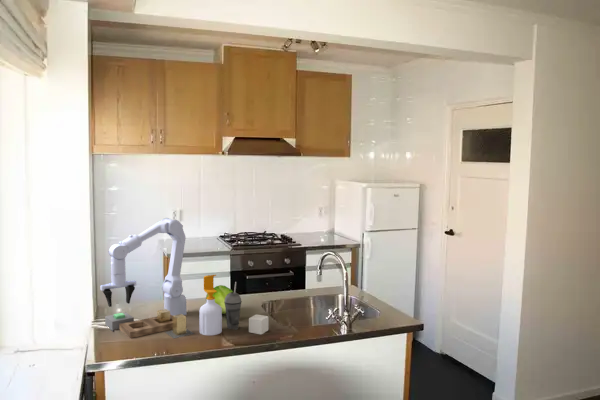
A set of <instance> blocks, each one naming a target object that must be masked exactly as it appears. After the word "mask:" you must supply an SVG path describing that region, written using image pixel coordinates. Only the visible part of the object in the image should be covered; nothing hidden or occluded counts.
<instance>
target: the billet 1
mask: <svg viewBox="0 0 600 400" xmlns="http://www.w3.org/2000/svg"><path fill="white" fill-rule="evenodd" d="M156 317H157V322H158V323H159V324H160V323H165V322H170V311H169V310H167V309H164V308H163V309H158V310H156Z"/></svg>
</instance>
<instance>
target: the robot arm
mask: <svg viewBox="0 0 600 400" xmlns="http://www.w3.org/2000/svg"><path fill="white" fill-rule="evenodd" d="M158 234H167V235H168V236H169V237H170V238H171V239H172V244H171V250H170V259H169V264H168V271H167V275H166V276H165V277H164V281H163V282H162V284H161V290H162V292H163V293H164V294H163V304H164V305H163V306H164V307H163V309H167V310H169V311H170V314H171V315H173V316H174V315H179V314H183V315H184V316H187V297H186V296H185V294H183V292H184V286H183V281H182V277H181V272H182V265H183V258H184V257H183V256H184V251H185V245H186V239H187V237H186V233H185V231H184V225H183V223H181V222H180V221H179V220H177V219H172V218H169V217H165V218H163V219H161V220H159V221H157V222H155V223H154V224H153V225H151V226H150V227H148V228H147V229H145V230H143V231H142V232H140V233H139V234H135V233H134V234H129V235H128V237H127V238H125V239H124V240H122V241H121V240H120V241H119V242H118V243H114V244H112V245H111V246H110V248H109V250H108V256H110V281H111V282H109V283H105V284H101V285H100V286H99V287H100V291H101V292H102V293H103V294H104V296H105V298H106V302H107V306H108V307H109V308H110V307H111V308H112V306H113V305H112V302H113V301H112V298H113V297H112V295H113V291H112V290H114V289H119V288H125V295H126V296H125V302H126V304H130V303H131V298H132V296H133V293H134V291H135V288H136V286H137V280H133V279H132V280H127V279H126V273H127V272H126V258H127V256H128V254H130V253H131V252H134V251H135V250H137V249H139V248H140V247H141V246H142V245H143V242H144V241H146V240H148V239H150V238H152V237H154V236H156V235H158Z"/></svg>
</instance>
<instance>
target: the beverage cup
mask: <svg viewBox="0 0 600 400" xmlns="http://www.w3.org/2000/svg"><path fill="white" fill-rule="evenodd" d="M233 288H234V290H233V292H231V293H229V294H227V296H226V297H225V301H224V303H225V307H226V313H225V316H226V325H227V327H226V328H227V329H229V330H235V331H236V330H238V329H239V325H240V313H241V307H242V302H243V301H242V298H241V295H240V294H239V293H237V292H236V291H237V290H236V289H237V281H235V282H234V287H233Z"/></svg>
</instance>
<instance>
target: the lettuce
mask: <svg viewBox="0 0 600 400" xmlns="http://www.w3.org/2000/svg"><path fill="white" fill-rule="evenodd" d="M214 289H215V290H216V291H217V292H215V293H214V294H213V297H215V303H216V304H218V305H219V306H221V308H222V315H223V314H225V315H226V307H225V303H224V301H225V297H226V296H227V294H229V293H231V292H234V290H232V289H231V288H229V287H227V286H226V285H222V284H220V285H216V286H214ZM207 297H209V294H207V293H206V297H205V303H206V302H207Z"/></svg>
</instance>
